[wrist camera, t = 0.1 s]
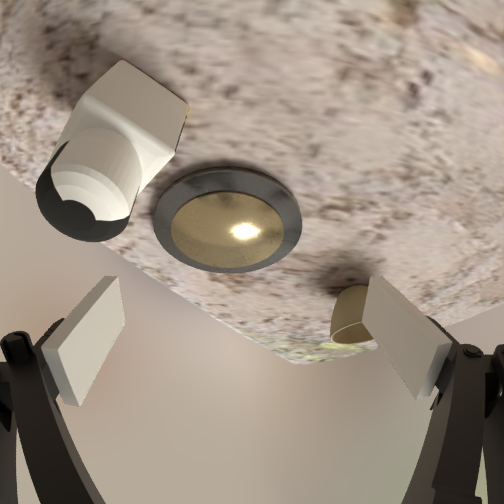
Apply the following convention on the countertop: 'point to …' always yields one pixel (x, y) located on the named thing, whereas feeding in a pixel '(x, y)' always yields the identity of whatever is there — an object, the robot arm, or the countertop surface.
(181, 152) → the countertop surface
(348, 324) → the flower pot
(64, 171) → the medicine bottle
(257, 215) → the plate
